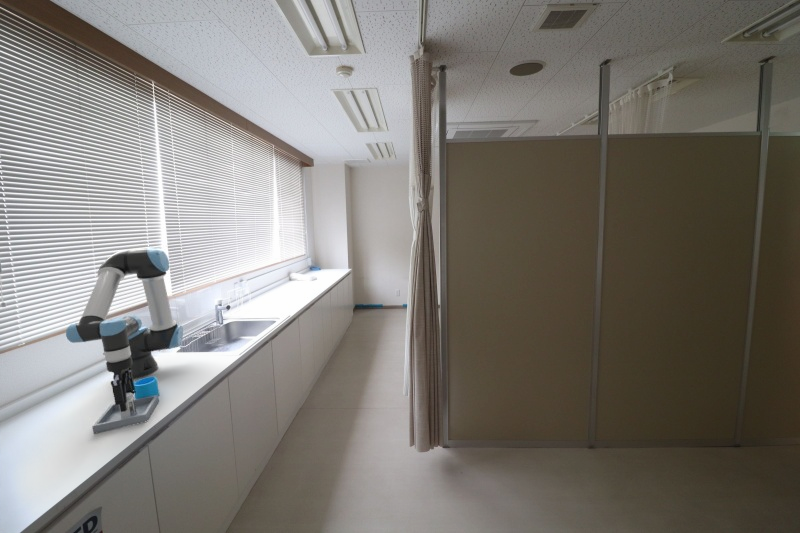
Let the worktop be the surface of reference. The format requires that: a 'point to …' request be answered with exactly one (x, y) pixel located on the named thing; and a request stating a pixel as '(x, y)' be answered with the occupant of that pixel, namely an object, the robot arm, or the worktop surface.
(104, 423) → the tray
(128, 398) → the pill bottle
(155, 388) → the mug
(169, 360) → the worktop surface
